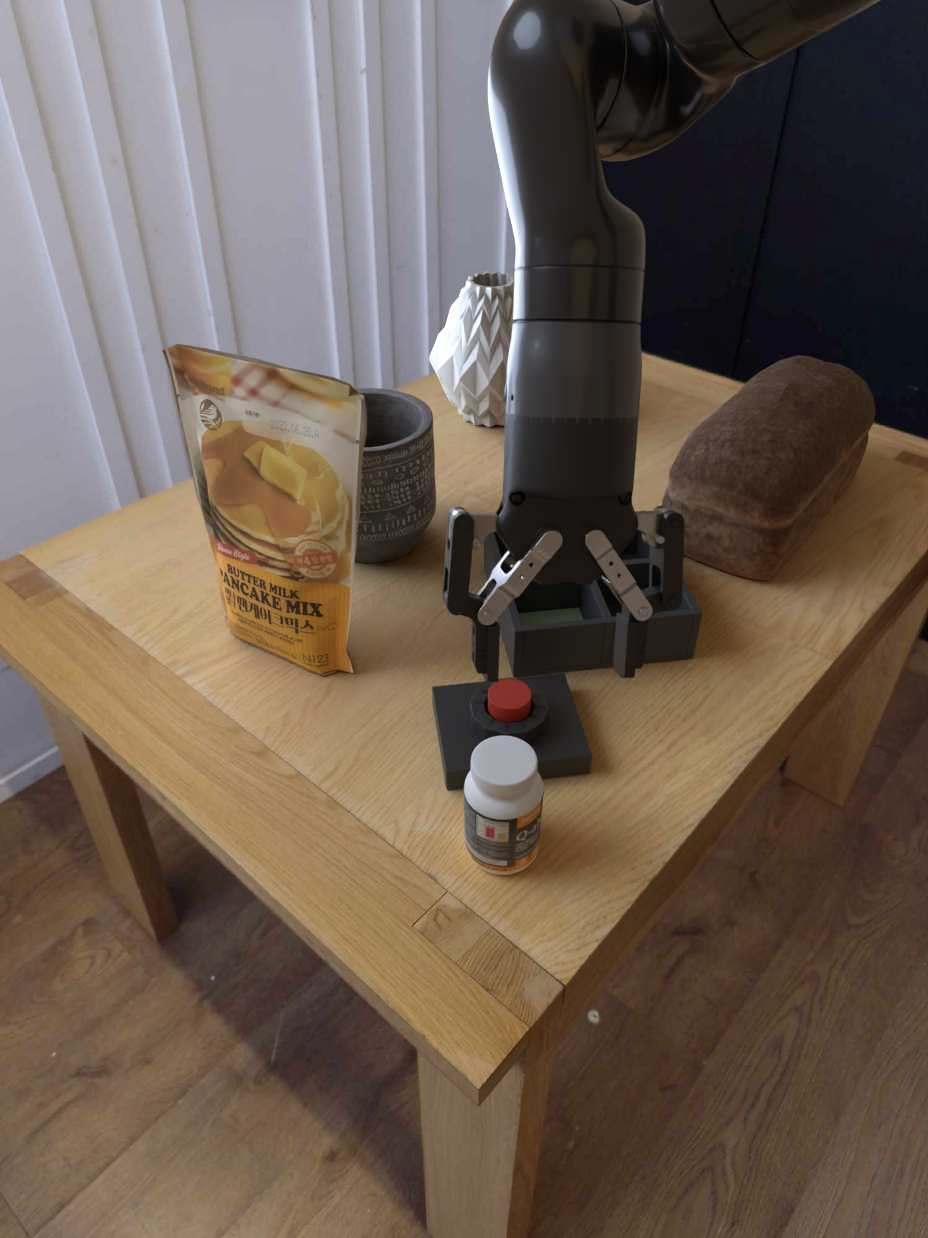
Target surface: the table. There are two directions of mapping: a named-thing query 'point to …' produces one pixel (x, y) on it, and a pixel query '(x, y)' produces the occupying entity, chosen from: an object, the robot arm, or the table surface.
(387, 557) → the planter
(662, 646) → the black divided tray
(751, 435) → the bread
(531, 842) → the pill bottle
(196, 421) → the pancake mix bag
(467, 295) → the vase
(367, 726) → the table surface
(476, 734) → the block
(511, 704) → the button
